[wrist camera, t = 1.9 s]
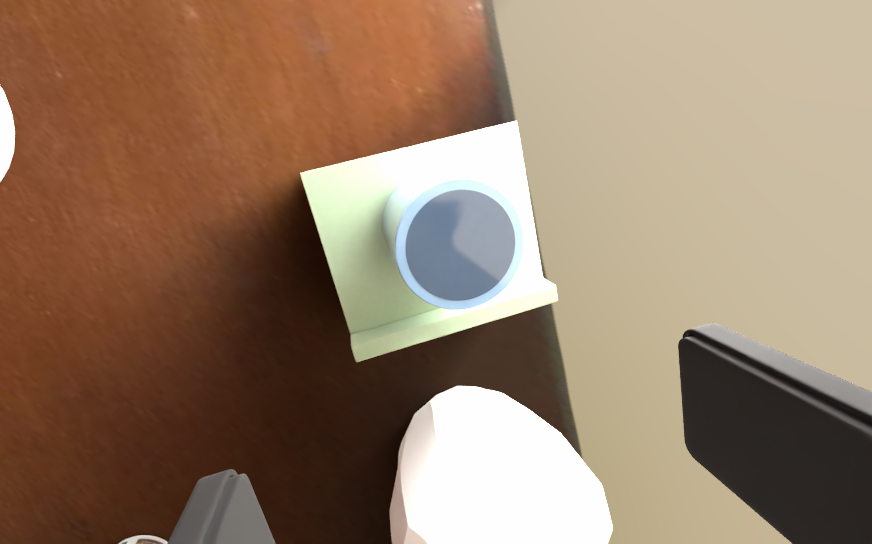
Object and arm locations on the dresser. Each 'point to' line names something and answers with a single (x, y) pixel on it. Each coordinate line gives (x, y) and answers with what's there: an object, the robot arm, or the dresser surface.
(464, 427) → the vase
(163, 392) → the dresser surface
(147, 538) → the supplement bottle
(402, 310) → the shelf
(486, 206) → the cup
